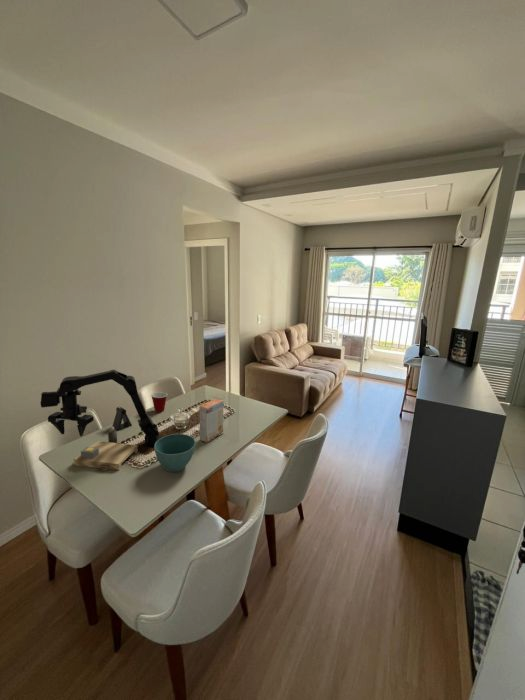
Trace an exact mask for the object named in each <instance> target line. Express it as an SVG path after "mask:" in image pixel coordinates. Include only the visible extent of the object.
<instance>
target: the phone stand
mask: <svg viewBox="0 0 525 700" xmlns="http://www.w3.org/2000/svg"><path fill="white" fill-rule="evenodd" d="M115 410H116V411H115V412H116V413H115V416H114V420H113V422H112V423H113V424H112V426H111V427H114V430H116V431H117V432H119V431H122V430H125V429H128V428H130V427H132V426H133V425H132V422H131V421H130V418H129V417H128V414H127V410H126V409H125V408H123V407H122V406H118V407H116V408H115ZM122 422H123V423H122Z"/></svg>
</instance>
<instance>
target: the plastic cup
mask: <svg viewBox="0 0 525 700" xmlns="http://www.w3.org/2000/svg"><path fill="white" fill-rule="evenodd" d="M150 397H151V401H152V404H153V407H154V408H153V409H154V411H155V413H163V412H164V411H165V408H166V401H167V398H168V393H167V392H161V391H160V392H153V393H151V394H150Z"/></svg>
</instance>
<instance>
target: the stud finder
mask: <svg viewBox="0 0 525 700" xmlns="http://www.w3.org/2000/svg"><path fill="white" fill-rule="evenodd" d="M80 454H81V457H83V458H92V459H93V458H95V457H96V456H97V455H98V454H99V448H92V447H90V446H86V447H85V448H84V449H82V450H80Z"/></svg>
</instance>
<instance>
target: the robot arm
mask: <svg viewBox="0 0 525 700" xmlns="http://www.w3.org/2000/svg"><path fill="white" fill-rule="evenodd" d="M110 380H112V381H114V382H115V383H117V384H118V385H120V386H122V387H123V389H124V390H125V392H126V393H127V394H128V395H129V396H130V398H131V401H132V403H133V406H134V407H135V410H136V412H137V415H138V417H139V419H137V424H138V426H139V428H140V431H141V432H143V434H145V435H144V447H149V448H151V447H153V448H155V443H156V442H157V441H158V440H159V439H160V432H159V429H158V426H157V424H155V423H154V421H153V420H152V419H151V417H150V416H149V414H148V413H147V411H146V409H145V406H144V404H143V402H142V400H141V397H140V395H139V391H138V387H137V384H136V379H135V377H134V376H133V375H127V374H125V373H124V372H123V373H122V372H120V371H117V370H116V369H110V370H108V371H102V372H98V373H93V374H89V375H84V376H79V375H78V376H77V375H74V376H71V375H70V376H66V377H64V378H63V379H62V380H61V382H60V385H59V387H58V388H57V390H56V391H42V392H41V394H40V395H41V396H40V407H41V408H42V409H43V408H51V407H58V405H59V404H61V405H62V407H60V409H59V411H55V412H53V413H52V414H50V415H48V416H47V422H48V423H50V424H51V425H53V426H54V428H55V429H57V431H58V432H59V433H60V434H61V435H62V436H63V435H65V421H73V422H76V423H77V425H76V427H77V431H78V433H79V436H80V437H83V436H84V432H85V429H86V428H87V426H88V425H89V424H90V423H92V422H94V417H95V416H94V415H92V414H86V413H87V409H88V406H86V405H80V403H79V404H78V396H81V394H82V391H81V390H80V389H81V388H82V387H86V386H89V385H94V384H99V383H102V382H107V381H110ZM84 413H85V414H84ZM82 414H84V415H82Z"/></svg>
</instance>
